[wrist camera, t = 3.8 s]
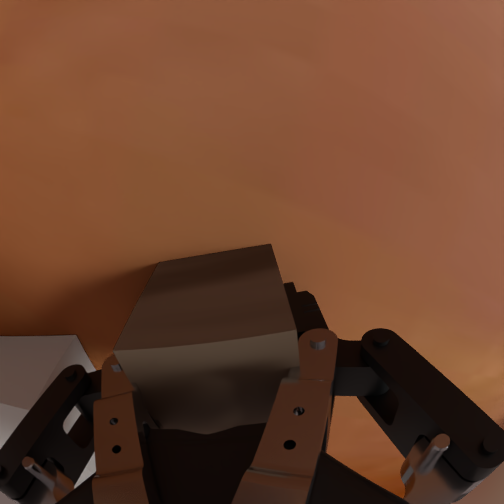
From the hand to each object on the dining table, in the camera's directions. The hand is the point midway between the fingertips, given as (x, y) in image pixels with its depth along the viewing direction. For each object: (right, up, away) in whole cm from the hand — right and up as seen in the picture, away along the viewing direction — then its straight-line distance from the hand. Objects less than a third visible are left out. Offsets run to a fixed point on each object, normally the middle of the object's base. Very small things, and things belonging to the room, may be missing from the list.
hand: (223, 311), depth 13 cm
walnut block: (0, 0, +1) cm, 1 cm away
